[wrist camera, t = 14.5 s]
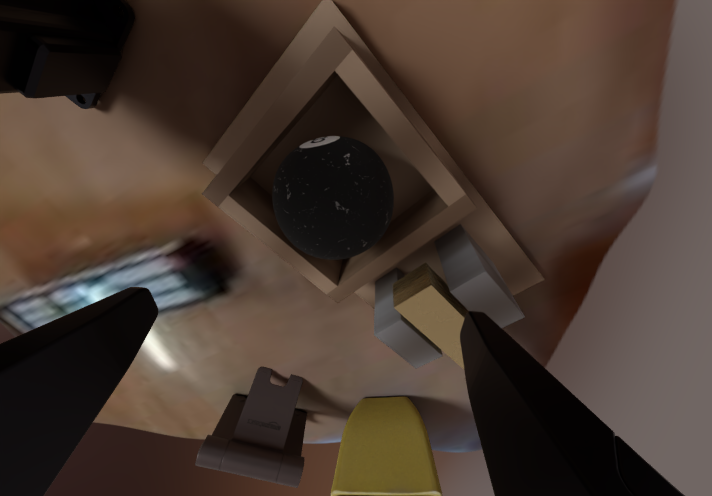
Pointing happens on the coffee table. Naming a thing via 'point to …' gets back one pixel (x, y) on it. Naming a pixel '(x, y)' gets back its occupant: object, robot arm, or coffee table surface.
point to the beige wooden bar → (431, 309)
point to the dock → (407, 172)
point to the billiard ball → (333, 197)
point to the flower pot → (385, 452)
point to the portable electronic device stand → (260, 433)
